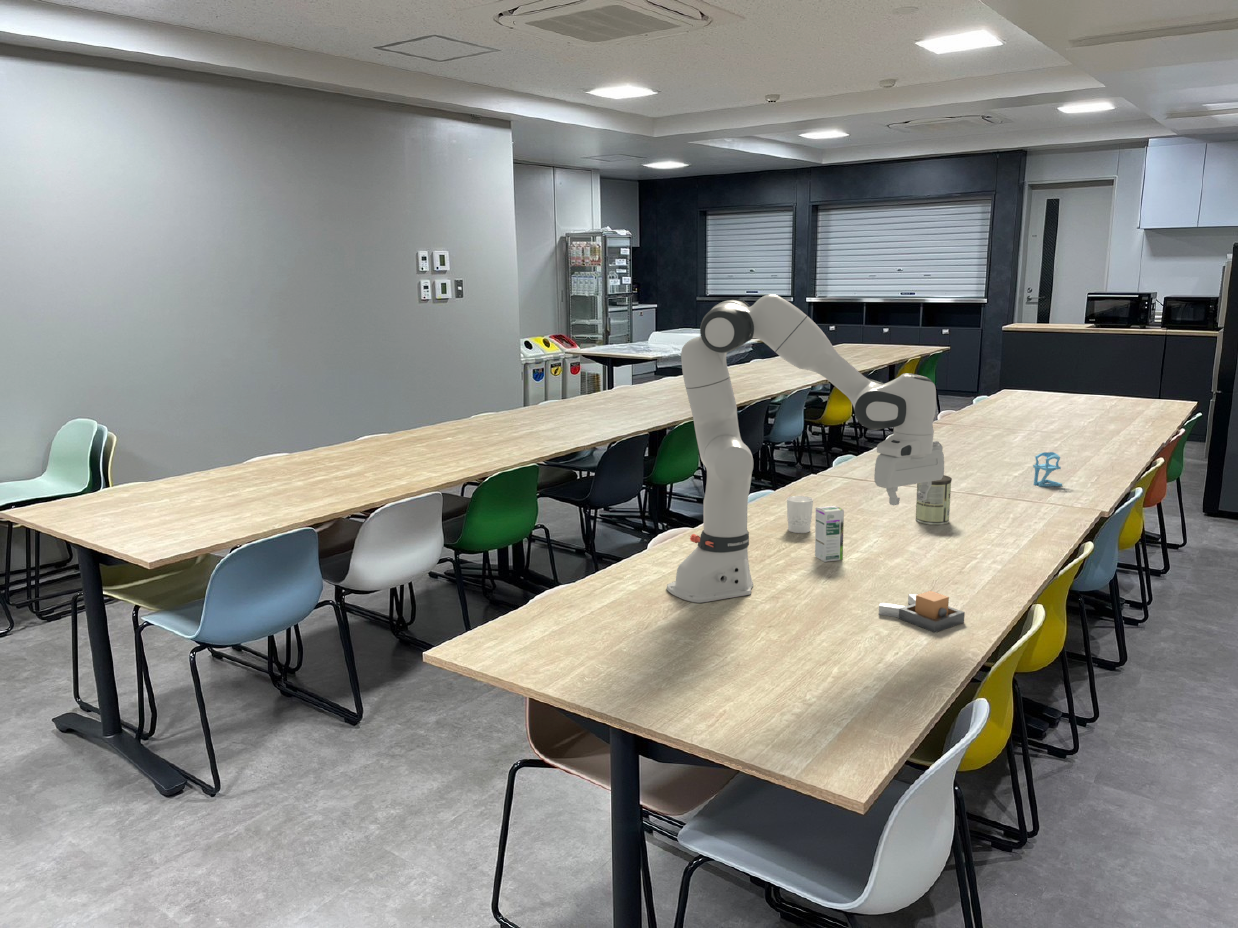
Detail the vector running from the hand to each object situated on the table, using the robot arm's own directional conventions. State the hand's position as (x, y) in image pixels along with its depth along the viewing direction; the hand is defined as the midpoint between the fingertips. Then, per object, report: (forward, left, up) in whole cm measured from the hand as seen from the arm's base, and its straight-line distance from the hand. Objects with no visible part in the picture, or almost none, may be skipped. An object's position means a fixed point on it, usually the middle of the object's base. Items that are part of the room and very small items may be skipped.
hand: (908, 502), depth 212 cm
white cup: (+23, +59, -25) cm, 69 cm away
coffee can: (+64, +42, -25) cm, 81 cm away
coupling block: (-4, -12, -25) cm, 28 cm away
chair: (+136, +49, -25) cm, 147 cm away
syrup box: (+10, +34, -25) cm, 44 cm away
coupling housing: (-4, -9, -25) cm, 27 cm away
